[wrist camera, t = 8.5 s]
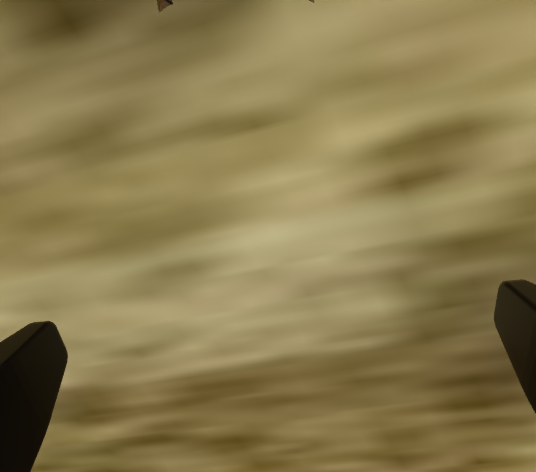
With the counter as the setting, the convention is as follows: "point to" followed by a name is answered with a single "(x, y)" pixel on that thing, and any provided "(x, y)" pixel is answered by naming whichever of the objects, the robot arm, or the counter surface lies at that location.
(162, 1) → the game die
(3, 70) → the counter surface
